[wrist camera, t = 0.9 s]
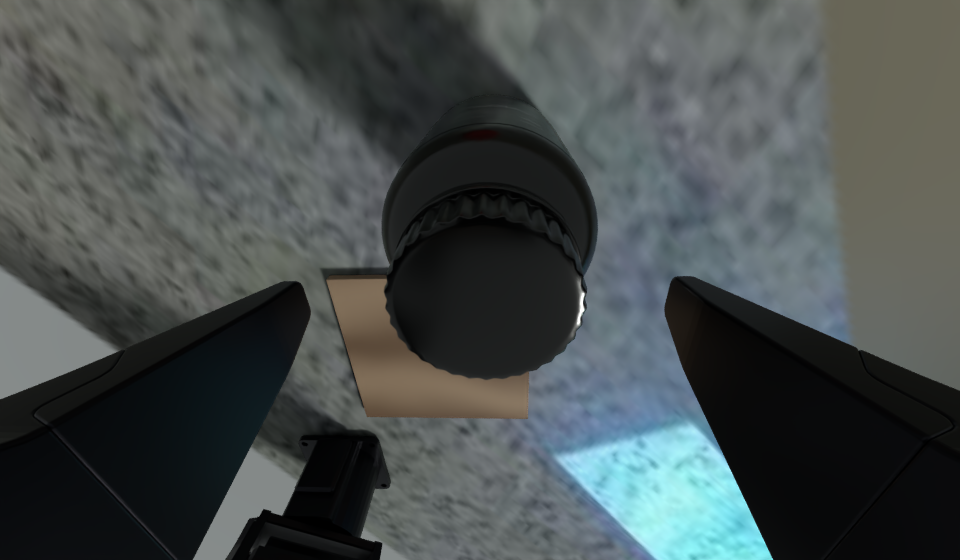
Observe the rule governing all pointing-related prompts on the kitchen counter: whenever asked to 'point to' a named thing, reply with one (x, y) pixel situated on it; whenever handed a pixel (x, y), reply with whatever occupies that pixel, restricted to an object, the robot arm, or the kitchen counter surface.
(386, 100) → the kitchen counter surface
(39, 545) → the robot arm
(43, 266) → the kitchen counter surface
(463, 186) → the supplement bottle
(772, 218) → the kitchen counter surface
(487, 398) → the tan board
